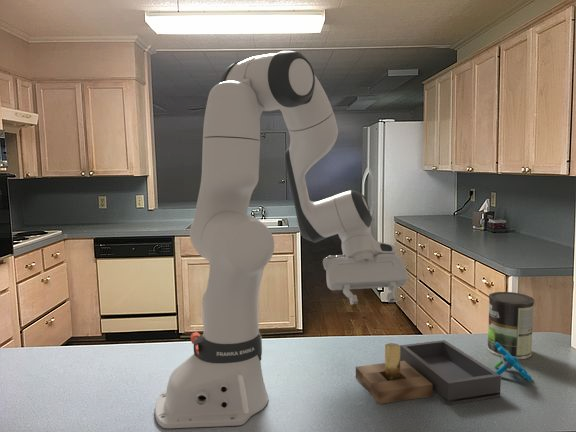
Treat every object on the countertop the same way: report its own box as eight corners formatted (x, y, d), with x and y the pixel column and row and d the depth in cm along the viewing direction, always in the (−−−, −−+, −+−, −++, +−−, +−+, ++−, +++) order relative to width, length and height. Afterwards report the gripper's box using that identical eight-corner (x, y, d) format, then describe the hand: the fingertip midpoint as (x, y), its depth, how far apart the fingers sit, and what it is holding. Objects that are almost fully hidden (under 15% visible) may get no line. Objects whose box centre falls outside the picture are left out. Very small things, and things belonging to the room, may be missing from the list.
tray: (448, 404, 89) (448, 383, 89) (399, 363, 109) (400, 345, 108) (500, 396, 92) (500, 375, 92) (444, 357, 112) (444, 340, 111)
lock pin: (389, 390, 96) (389, 349, 95) (382, 383, 99) (382, 344, 98) (402, 388, 96) (403, 348, 95) (395, 382, 99) (396, 342, 98)
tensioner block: (378, 403, 90) (378, 392, 90) (355, 377, 102) (355, 366, 102) (432, 395, 93) (432, 384, 93) (404, 370, 105) (404, 360, 104)
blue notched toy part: (539, 383, 94) (502, 345, 97) (516, 400, 95) (480, 363, 98) (528, 368, 105) (495, 334, 107) (508, 384, 106) (476, 350, 108)
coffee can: (494, 358, 110) (496, 302, 109) (482, 342, 121) (483, 291, 119) (539, 360, 109) (541, 303, 108) (523, 344, 119) (525, 292, 118)
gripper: (323, 249, 112) (333, 298, 104) (401, 245, 115) (417, 293, 107) (319, 263, 117) (328, 311, 109) (394, 259, 120) (409, 305, 112)
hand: (373, 302), depth 108 cm, fingers open, 8 cm apart
